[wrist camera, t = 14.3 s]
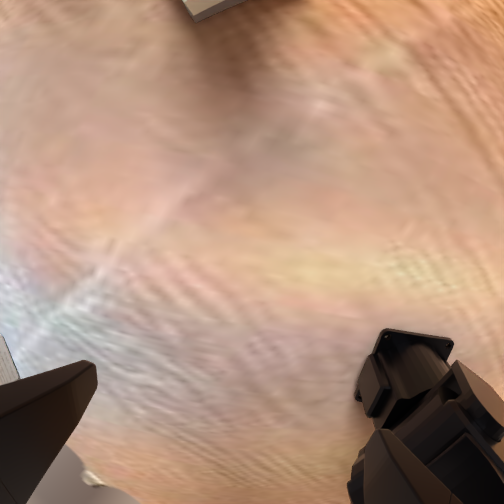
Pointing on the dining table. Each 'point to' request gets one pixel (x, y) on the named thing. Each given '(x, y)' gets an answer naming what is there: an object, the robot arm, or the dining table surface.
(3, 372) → the skincare box
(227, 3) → the tower bottom block
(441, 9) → the dining table surface
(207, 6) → the tower top block
